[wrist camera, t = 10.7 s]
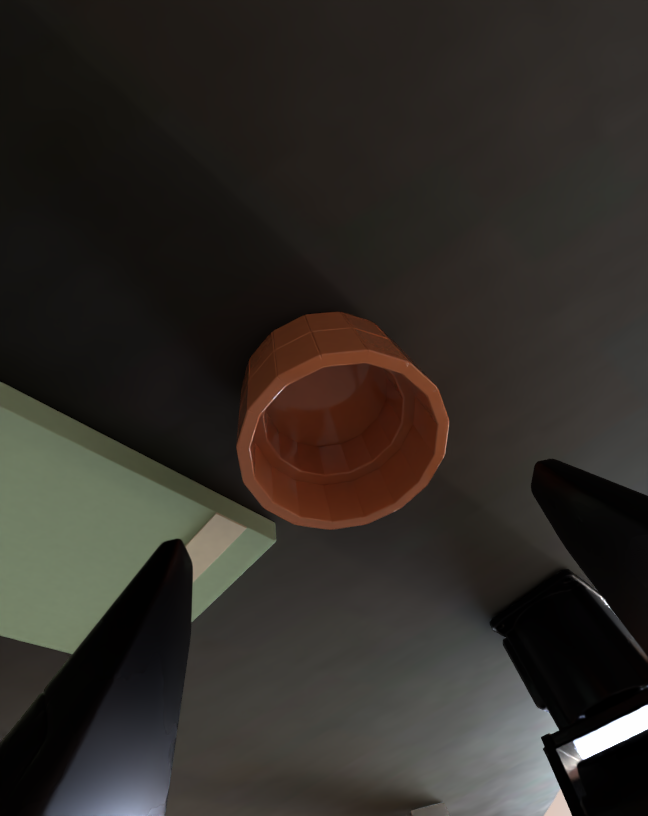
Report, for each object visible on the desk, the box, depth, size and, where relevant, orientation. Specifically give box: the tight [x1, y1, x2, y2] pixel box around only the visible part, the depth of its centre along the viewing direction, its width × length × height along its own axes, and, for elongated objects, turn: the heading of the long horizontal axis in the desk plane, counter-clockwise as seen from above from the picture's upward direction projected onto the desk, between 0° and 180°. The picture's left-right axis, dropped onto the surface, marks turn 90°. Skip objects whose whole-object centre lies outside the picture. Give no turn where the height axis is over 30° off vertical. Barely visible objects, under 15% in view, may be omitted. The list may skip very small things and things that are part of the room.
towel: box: [0, 382, 276, 654], centre depth 16 cm, size 12×18×1 cm, turn 48°
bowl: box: [236, 312, 449, 530], centre depth 14 cm, size 7×7×4 cm
